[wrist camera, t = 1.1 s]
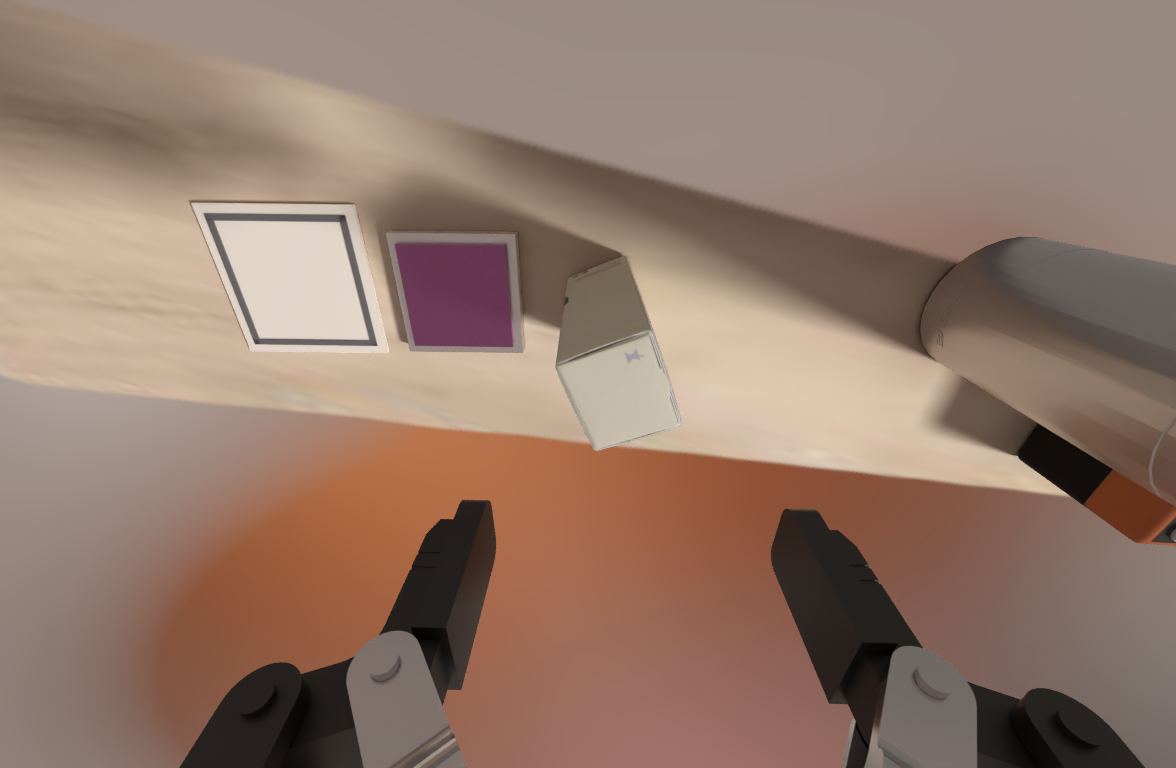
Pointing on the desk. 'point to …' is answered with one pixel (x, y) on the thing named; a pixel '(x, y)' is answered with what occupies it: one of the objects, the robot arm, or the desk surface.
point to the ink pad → (459, 290)
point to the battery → (1101, 489)
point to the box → (613, 359)
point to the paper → (295, 275)
